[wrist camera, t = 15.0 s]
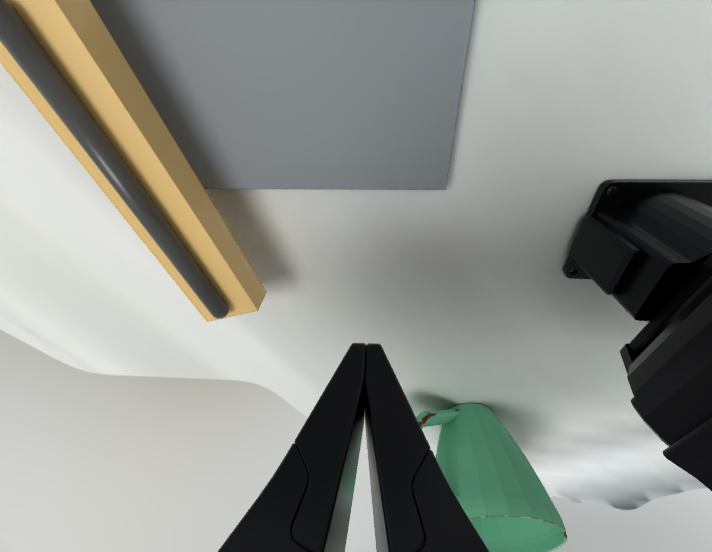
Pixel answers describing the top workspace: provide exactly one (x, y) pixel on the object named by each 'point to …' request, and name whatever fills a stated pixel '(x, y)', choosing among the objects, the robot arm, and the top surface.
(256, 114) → the panel
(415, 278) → the top surface
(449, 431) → the mug
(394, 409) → the robot arm
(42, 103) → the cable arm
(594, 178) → the top surface
